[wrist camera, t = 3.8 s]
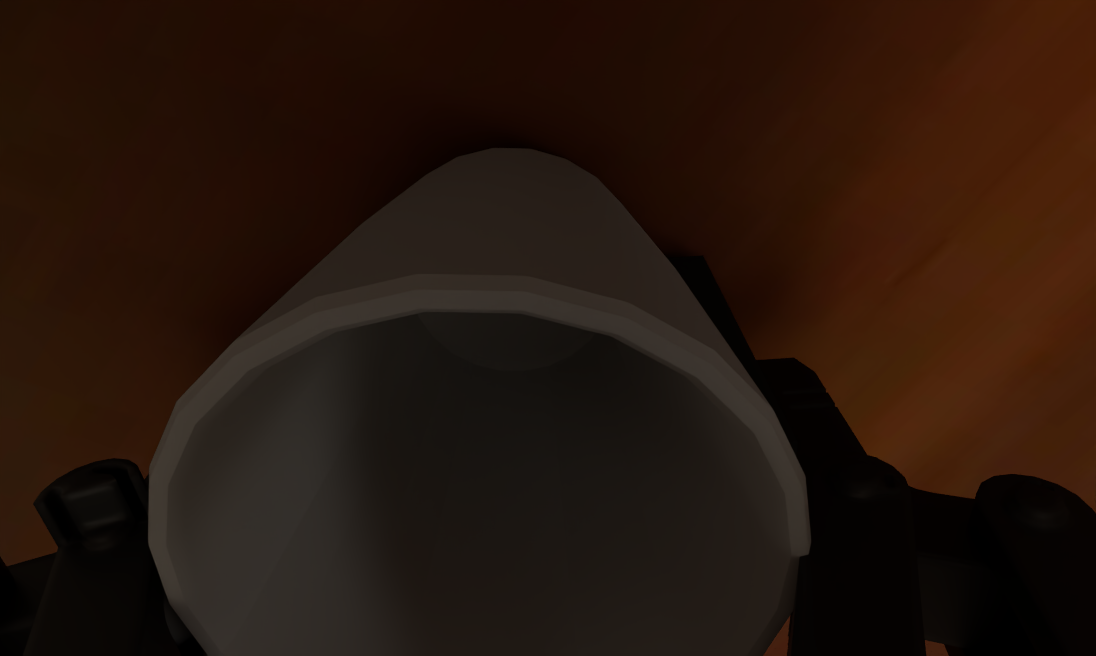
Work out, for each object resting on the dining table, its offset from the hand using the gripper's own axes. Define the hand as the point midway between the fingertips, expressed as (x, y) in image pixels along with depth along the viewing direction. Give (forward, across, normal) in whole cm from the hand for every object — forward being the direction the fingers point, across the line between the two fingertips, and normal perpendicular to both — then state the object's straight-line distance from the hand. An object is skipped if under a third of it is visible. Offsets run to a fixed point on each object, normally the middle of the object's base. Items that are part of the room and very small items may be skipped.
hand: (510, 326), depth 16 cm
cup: (0, 0, 0) cm, 1 cm away
